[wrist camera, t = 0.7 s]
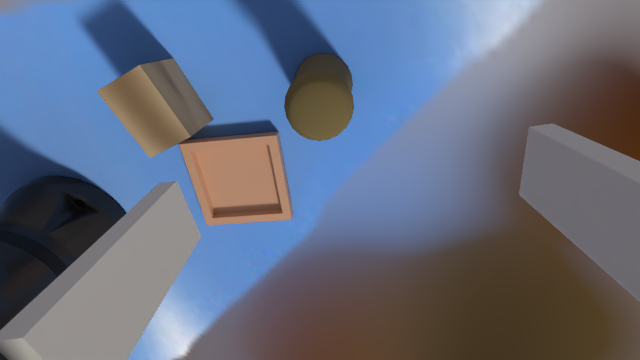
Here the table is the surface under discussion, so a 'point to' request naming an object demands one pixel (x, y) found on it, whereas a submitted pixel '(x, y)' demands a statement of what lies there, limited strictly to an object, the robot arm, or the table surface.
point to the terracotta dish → (239, 178)
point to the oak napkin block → (156, 105)
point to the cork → (320, 97)
